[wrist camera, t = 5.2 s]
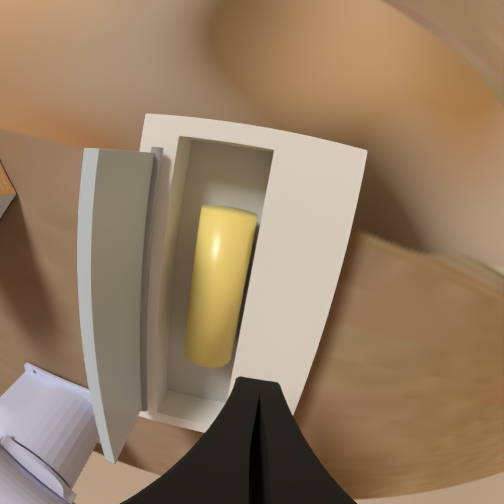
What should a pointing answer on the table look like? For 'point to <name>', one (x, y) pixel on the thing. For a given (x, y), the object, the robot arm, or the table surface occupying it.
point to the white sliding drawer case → (261, 259)
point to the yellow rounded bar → (218, 283)
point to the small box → (5, 191)
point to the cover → (116, 284)
